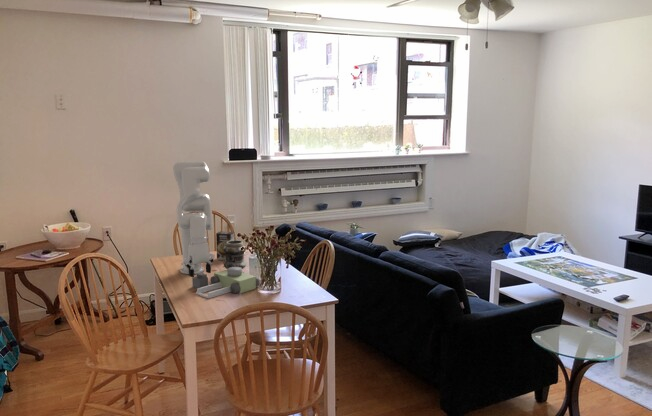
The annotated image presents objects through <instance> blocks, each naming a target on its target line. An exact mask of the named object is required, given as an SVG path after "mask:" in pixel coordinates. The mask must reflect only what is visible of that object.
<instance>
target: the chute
mask: <svg viewBox="0 0 652 416" xmlns="http://www.w3.org/2000/svg"><path fill="white" fill-rule="evenodd" d="M191 279H192V288H194V289H196V290H197V289H198V288H201V287H205V286H208V285H209V278H208V275H207V273H203V272H201V273H197V274H196V276H194V277H191Z"/></svg>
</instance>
